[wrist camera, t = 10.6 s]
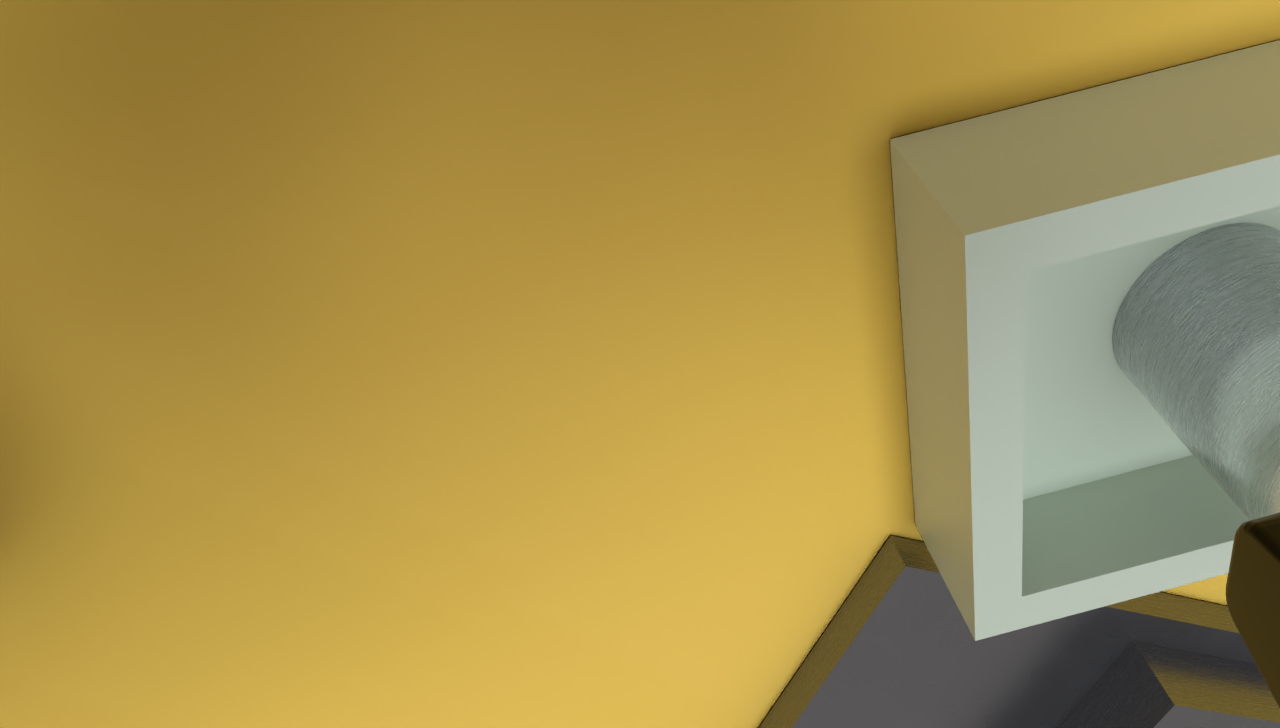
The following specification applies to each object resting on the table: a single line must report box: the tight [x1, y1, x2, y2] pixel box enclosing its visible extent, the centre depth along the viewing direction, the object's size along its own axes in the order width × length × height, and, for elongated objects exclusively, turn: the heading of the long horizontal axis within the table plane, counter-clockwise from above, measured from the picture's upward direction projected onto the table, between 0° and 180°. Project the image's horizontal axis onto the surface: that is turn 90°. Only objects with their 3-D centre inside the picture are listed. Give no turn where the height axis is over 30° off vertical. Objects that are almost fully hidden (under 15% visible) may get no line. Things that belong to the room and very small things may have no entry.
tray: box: [890, 40, 1280, 641], centre depth 24 cm, size 12×10×4 cm
